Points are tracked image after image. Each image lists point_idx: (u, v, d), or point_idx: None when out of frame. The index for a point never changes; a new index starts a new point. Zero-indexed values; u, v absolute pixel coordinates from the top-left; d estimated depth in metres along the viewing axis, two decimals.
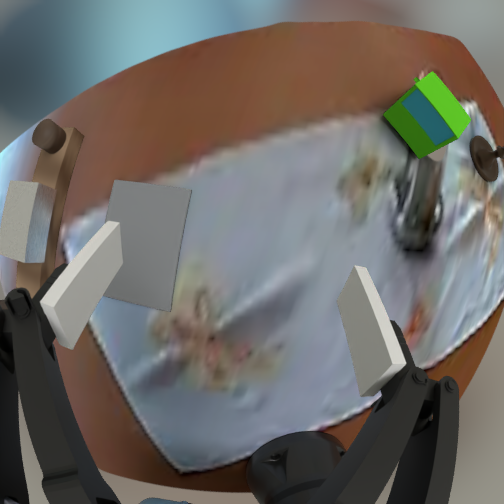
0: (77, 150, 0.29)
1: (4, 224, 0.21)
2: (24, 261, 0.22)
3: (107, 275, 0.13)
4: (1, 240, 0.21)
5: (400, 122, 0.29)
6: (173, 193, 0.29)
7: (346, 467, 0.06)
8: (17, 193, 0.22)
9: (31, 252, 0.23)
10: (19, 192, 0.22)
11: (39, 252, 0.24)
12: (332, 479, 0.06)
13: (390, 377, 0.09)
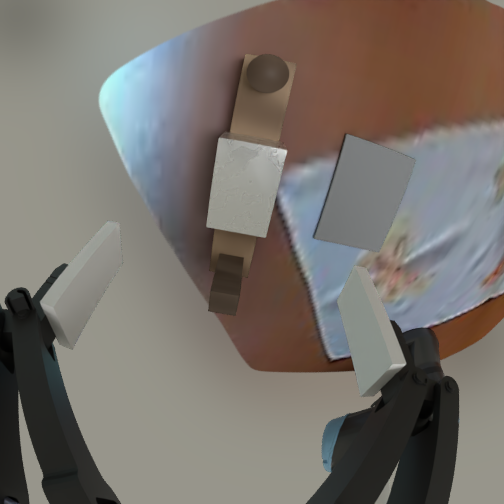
0: None
1: (218, 194, 0.25)
2: (265, 236, 0.27)
3: (107, 275, 0.13)
4: (214, 213, 0.26)
5: None
6: (402, 160, 0.28)
7: (346, 467, 0.06)
8: (242, 157, 0.23)
9: None
10: (246, 157, 0.23)
11: None
12: (332, 479, 0.06)
13: (390, 377, 0.09)
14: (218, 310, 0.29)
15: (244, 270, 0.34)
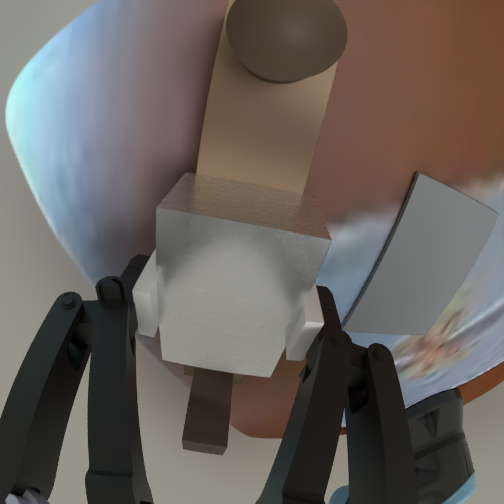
0: None
1: (174, 320, 0.12)
2: (269, 375, 0.14)
3: None
4: (173, 345, 0.13)
5: None
6: (484, 216, 0.15)
7: (286, 448, 0.07)
8: (219, 256, 0.10)
9: None
10: (228, 255, 0.09)
11: None
12: (278, 462, 0.07)
13: (311, 338, 0.11)
14: (197, 450, 0.16)
15: (235, 377, 0.21)
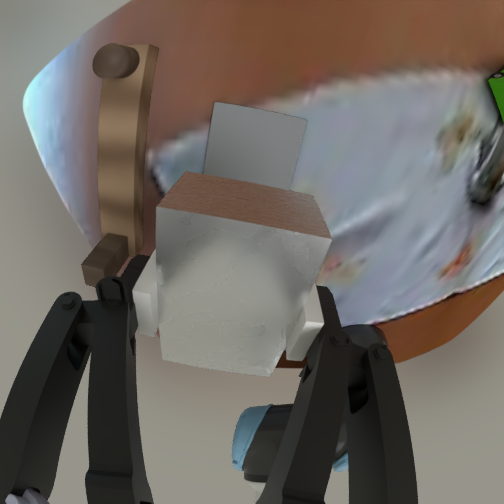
0: (154, 66, 0.23)
1: (174, 320, 0.11)
2: (269, 375, 0.14)
3: None
4: (173, 344, 0.13)
5: (502, 97, 0.18)
6: (288, 122, 0.26)
7: (286, 448, 0.07)
8: (219, 255, 0.09)
9: None
10: (228, 254, 0.09)
11: None
12: (278, 462, 0.07)
13: (311, 338, 0.11)
14: (92, 284, 0.27)
15: (131, 249, 0.33)
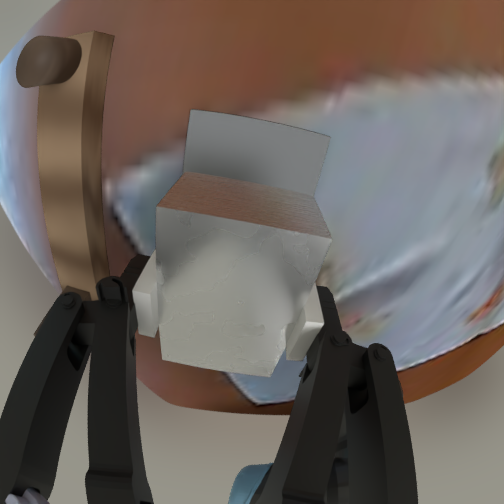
0: (106, 62, 0.14)
1: (174, 320, 0.11)
2: (269, 375, 0.14)
3: None
4: (173, 344, 0.12)
5: None
6: (301, 139, 0.18)
7: (286, 448, 0.07)
8: (219, 255, 0.09)
9: None
10: (228, 254, 0.09)
11: None
12: (278, 462, 0.07)
13: (311, 338, 0.11)
14: None
15: None
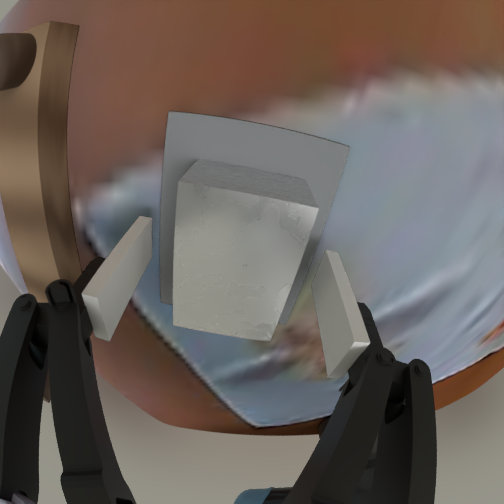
0: (69, 58, 0.10)
1: (187, 283, 0.14)
2: (269, 339, 0.16)
3: (140, 269, 0.14)
4: (184, 309, 0.15)
5: None
6: (313, 150, 0.14)
7: (320, 457, 0.07)
8: (228, 222, 0.12)
9: None
10: (235, 221, 0.12)
11: None
12: (308, 470, 0.06)
13: (355, 357, 0.10)
14: None
15: None
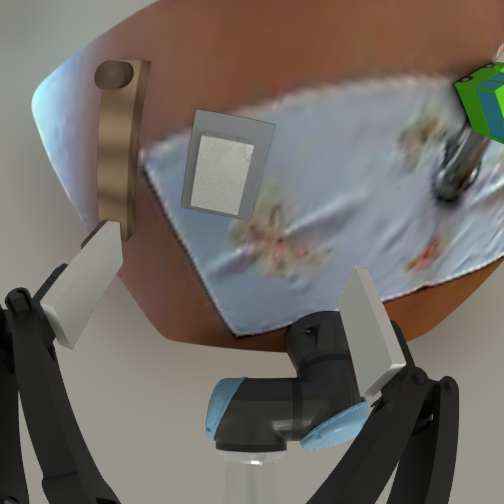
0: (146, 78, 0.27)
1: (200, 179, 0.31)
2: (237, 213, 0.33)
3: (107, 275, 0.13)
4: (197, 194, 0.32)
5: (468, 100, 0.23)
6: (258, 126, 0.31)
7: (346, 467, 0.06)
8: (219, 151, 0.29)
9: None
10: (222, 150, 0.29)
11: None
12: (332, 479, 0.06)
13: (390, 377, 0.09)
14: None
15: (123, 234, 0.37)
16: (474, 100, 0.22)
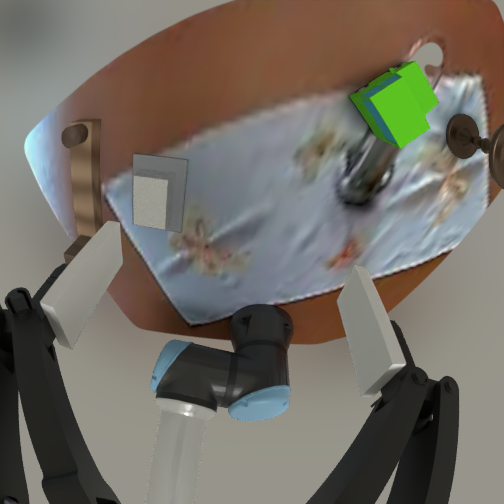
0: (99, 132, 0.39)
1: (137, 206, 0.42)
2: (164, 228, 0.45)
3: (107, 275, 0.13)
4: (137, 216, 0.43)
5: (361, 109, 0.34)
6: (176, 163, 0.42)
7: (346, 467, 0.06)
8: (146, 185, 0.40)
9: (167, 220, 0.45)
10: (148, 185, 0.40)
11: (169, 216, 0.46)
12: (332, 479, 0.06)
13: (390, 377, 0.09)
14: None
15: None
16: (364, 109, 0.32)
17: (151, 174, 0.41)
